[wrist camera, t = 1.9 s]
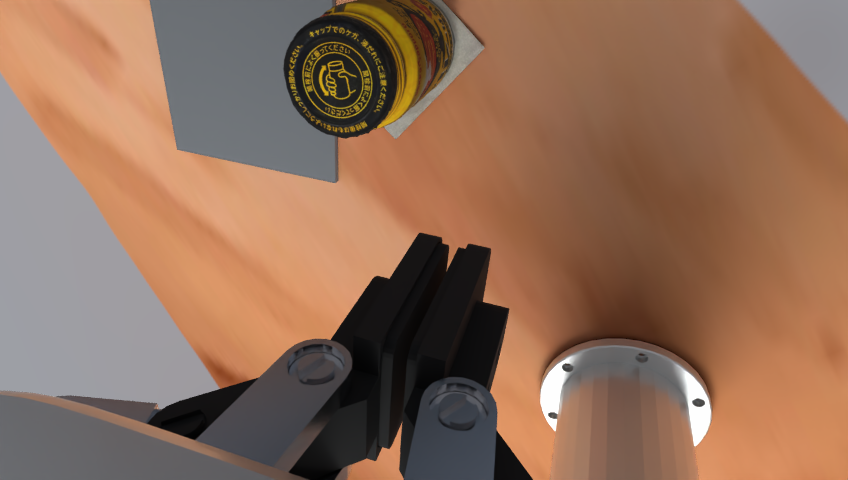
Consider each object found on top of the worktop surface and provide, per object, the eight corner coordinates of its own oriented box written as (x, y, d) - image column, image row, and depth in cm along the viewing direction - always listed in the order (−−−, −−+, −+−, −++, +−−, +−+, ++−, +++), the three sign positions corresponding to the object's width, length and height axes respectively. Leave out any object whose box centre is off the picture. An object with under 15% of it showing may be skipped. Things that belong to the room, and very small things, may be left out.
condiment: (485, 47, 32) (442, 85, 22) (396, 138, 36) (324, 207, 26) (400, -46, 31) (312, -52, 21) (318, 59, 35) (211, 98, 25)
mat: (338, 180, 40) (335, 183, 40) (181, 147, 43) (177, 149, 43) (333, -143, 30) (329, -144, 29) (126, -157, 33) (120, -157, 32)
